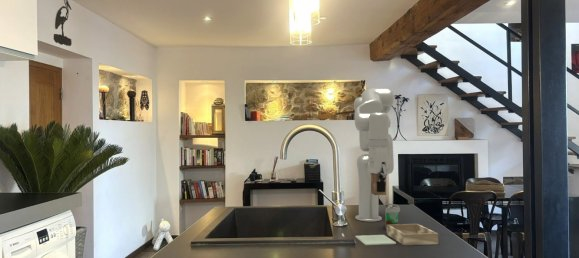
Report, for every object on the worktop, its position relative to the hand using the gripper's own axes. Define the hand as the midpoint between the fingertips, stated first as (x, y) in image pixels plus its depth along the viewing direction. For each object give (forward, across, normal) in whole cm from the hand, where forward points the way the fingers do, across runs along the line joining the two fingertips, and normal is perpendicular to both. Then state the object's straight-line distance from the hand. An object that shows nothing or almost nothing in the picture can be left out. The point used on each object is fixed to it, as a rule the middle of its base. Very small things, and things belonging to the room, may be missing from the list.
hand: (378, 190), depth 158 cm
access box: (+19, 0, +14) cm, 24 cm away
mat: (+19, 0, -1) cm, 19 cm away
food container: (+20, -18, +14) cm, 30 cm away
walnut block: (+1, 0, 0) cm, 1 cm away
